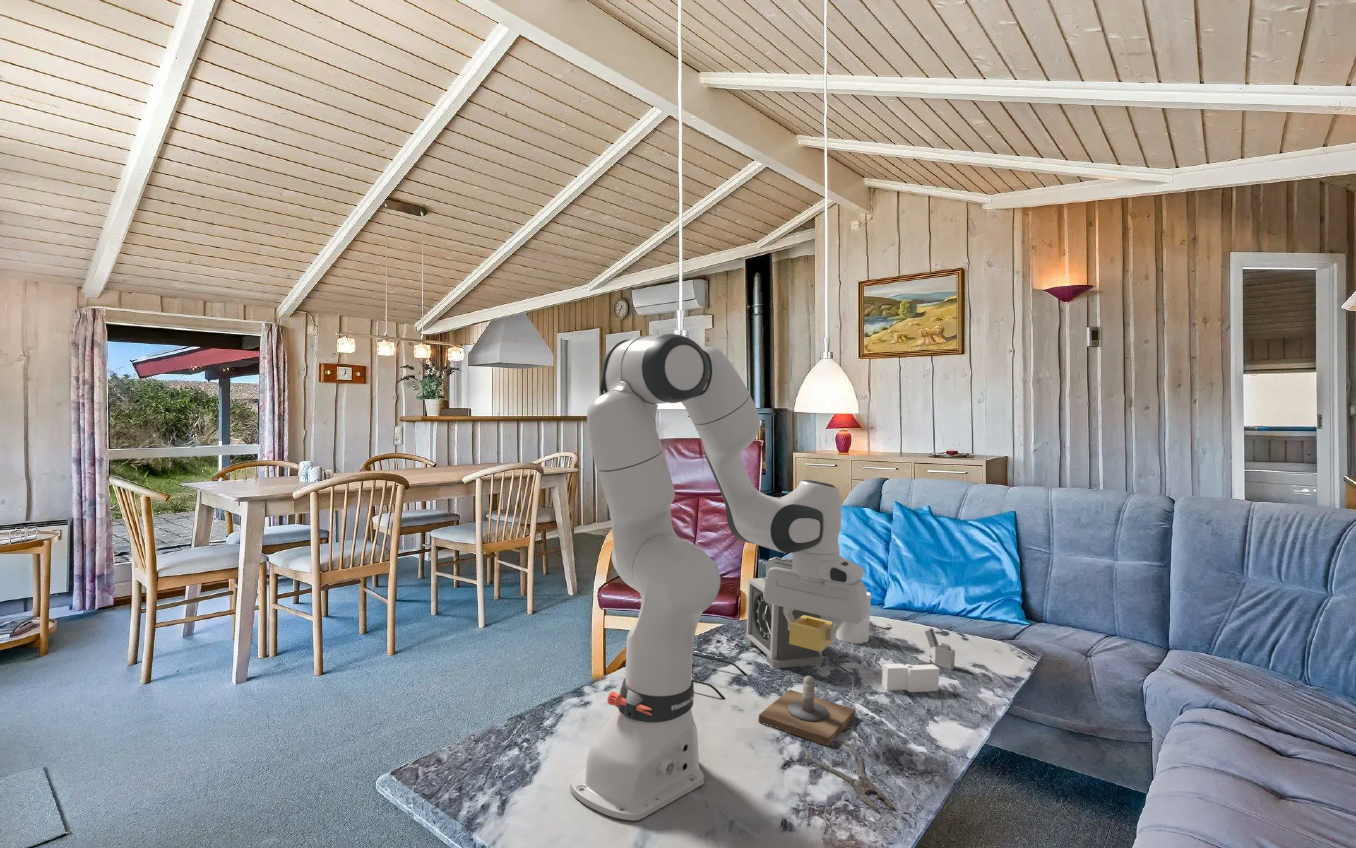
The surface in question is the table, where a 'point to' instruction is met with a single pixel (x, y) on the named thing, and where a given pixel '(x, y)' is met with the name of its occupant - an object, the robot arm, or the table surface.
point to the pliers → (857, 781)
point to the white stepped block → (910, 677)
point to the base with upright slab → (855, 628)
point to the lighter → (941, 651)
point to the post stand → (808, 715)
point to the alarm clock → (775, 631)
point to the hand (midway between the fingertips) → (811, 635)
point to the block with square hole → (810, 633)
